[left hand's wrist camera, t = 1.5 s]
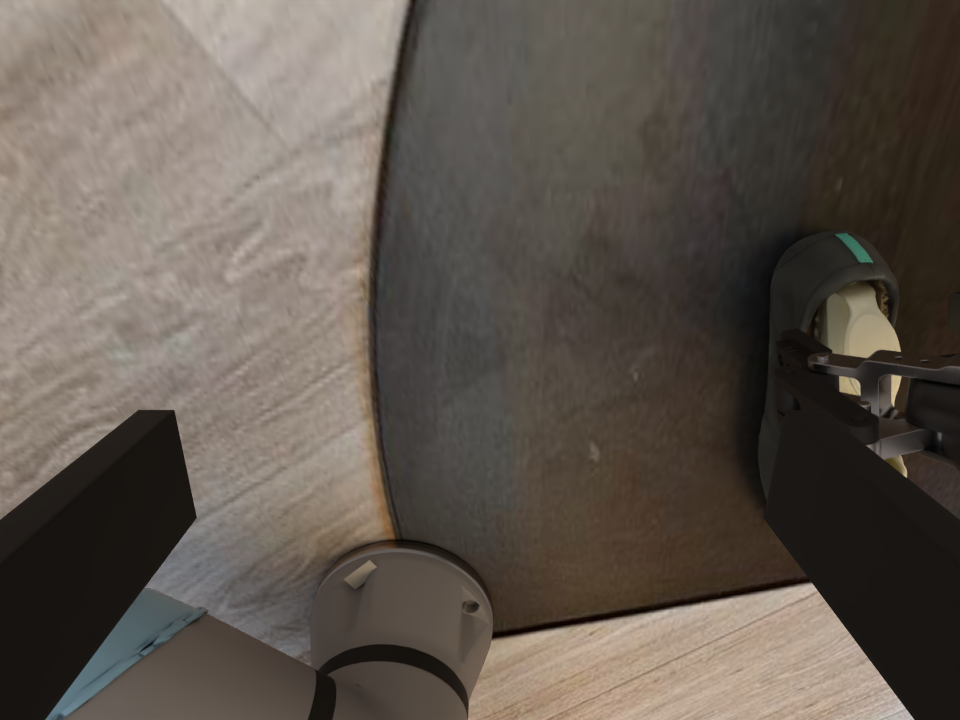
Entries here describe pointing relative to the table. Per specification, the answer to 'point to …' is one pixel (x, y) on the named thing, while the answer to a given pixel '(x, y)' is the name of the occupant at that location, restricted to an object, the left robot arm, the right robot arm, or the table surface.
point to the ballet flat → (829, 316)
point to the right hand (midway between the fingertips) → (869, 327)
